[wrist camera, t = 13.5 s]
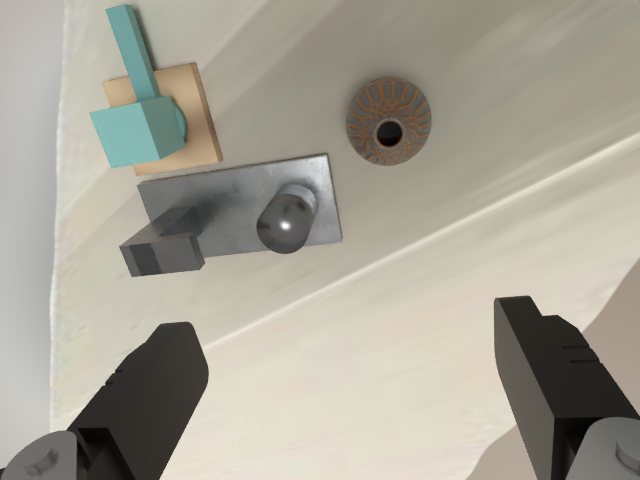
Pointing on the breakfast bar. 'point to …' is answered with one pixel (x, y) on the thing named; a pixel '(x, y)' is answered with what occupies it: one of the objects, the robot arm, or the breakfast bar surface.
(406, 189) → the breakfast bar surface
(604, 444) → the robot arm
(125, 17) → the teal block with handle
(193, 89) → the wooden coaster
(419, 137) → the vase
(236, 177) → the post
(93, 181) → the breakfast bar surface
